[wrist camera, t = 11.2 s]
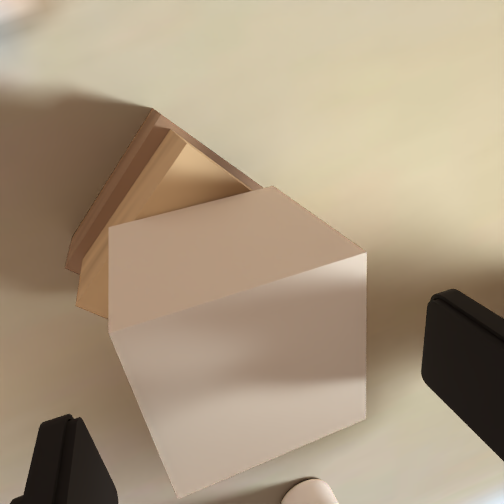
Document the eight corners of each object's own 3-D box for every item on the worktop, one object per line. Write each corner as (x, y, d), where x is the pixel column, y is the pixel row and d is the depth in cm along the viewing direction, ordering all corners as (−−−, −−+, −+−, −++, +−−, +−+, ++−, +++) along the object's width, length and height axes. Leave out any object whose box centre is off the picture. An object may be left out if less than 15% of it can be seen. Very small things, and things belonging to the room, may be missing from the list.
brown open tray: (285, 214, 19) (322, 243, 16) (206, 318, 20) (225, 367, 17) (170, 128, 16) (187, 143, 13) (82, 259, 17) (75, 305, 14)
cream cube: (273, 185, 14) (366, 252, 9) (288, 313, 17) (365, 418, 12) (108, 227, 13) (108, 333, 8) (155, 358, 16) (177, 499, 10)
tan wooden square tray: (267, 190, 23) (295, 210, 20) (194, 293, 24) (208, 329, 21) (151, 107, 19) (161, 114, 16) (72, 235, 20) (64, 268, 17)
